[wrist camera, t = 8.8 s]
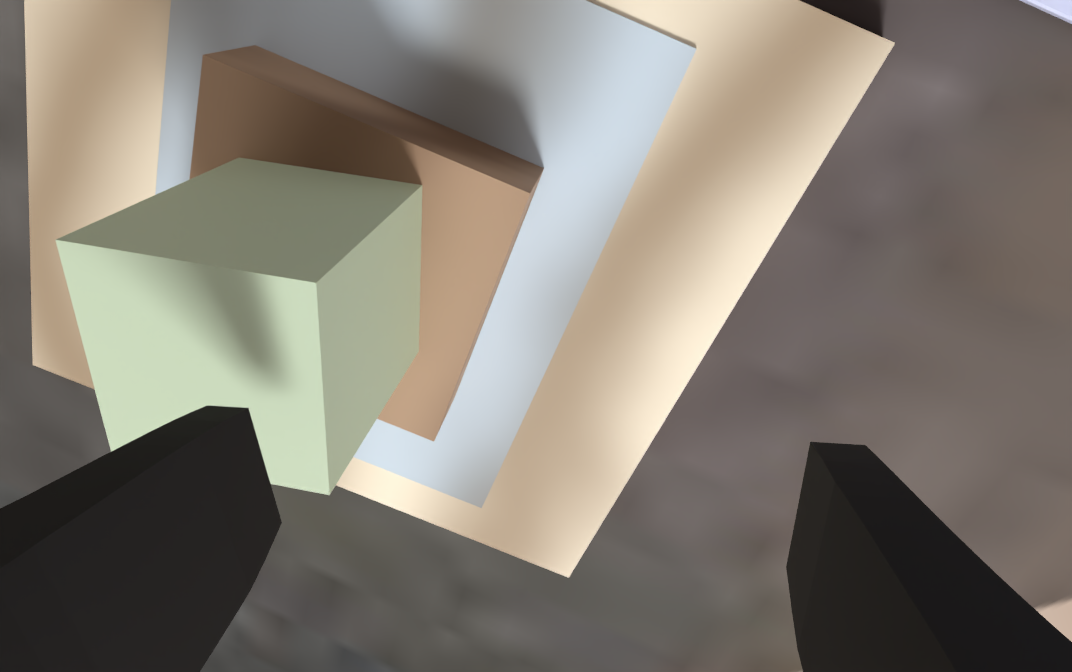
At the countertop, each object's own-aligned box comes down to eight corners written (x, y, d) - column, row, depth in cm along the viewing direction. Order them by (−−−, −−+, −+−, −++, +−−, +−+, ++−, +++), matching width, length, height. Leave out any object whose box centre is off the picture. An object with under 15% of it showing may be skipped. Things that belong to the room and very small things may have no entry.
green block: (422, 185, 14) (316, 282, 9) (419, 350, 16) (329, 494, 11) (239, 157, 14) (55, 239, 10) (258, 323, 16) (111, 453, 12)
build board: (882, 39, 14) (933, 54, 11) (571, 558, 22) (560, 633, 20) (49, -333, 13) (-94, -405, 11) (52, 352, 21) (-28, 402, 19)
